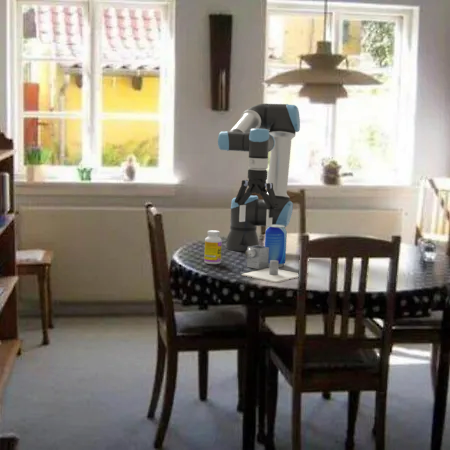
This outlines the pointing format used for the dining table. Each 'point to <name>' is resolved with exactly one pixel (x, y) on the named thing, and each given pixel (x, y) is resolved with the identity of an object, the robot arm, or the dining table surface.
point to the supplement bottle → (213, 248)
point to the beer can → (276, 243)
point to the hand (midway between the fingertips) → (255, 223)
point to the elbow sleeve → (257, 256)
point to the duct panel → (271, 277)
